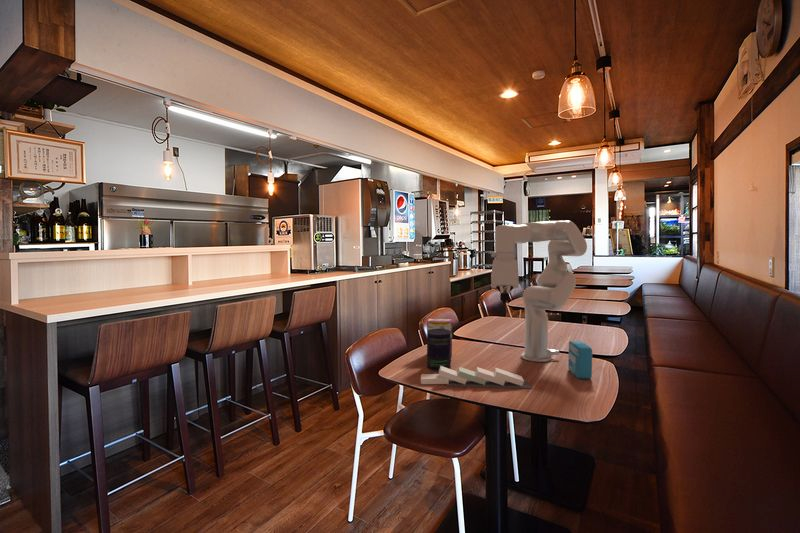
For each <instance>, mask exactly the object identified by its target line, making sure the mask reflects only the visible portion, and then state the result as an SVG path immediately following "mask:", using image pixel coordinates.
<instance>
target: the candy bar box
mask: <svg viewBox="0 0 800 533" xmlns="http://www.w3.org/2000/svg"><path fill="white" fill-rule="evenodd" d="M426 323H427V324H426V326H427V328H426V332H427V331H428V330H431V329H446V330H449V331H451V334H450V335H451V346H450V354H451V358H452V355H453V352H452V351H453V349H452V348H453V319H452V318H451V319H448V318H446V319H445V318H444V319H443V318H427V322H426ZM427 354H428V345H427V344H426V355H427Z"/></svg>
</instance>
